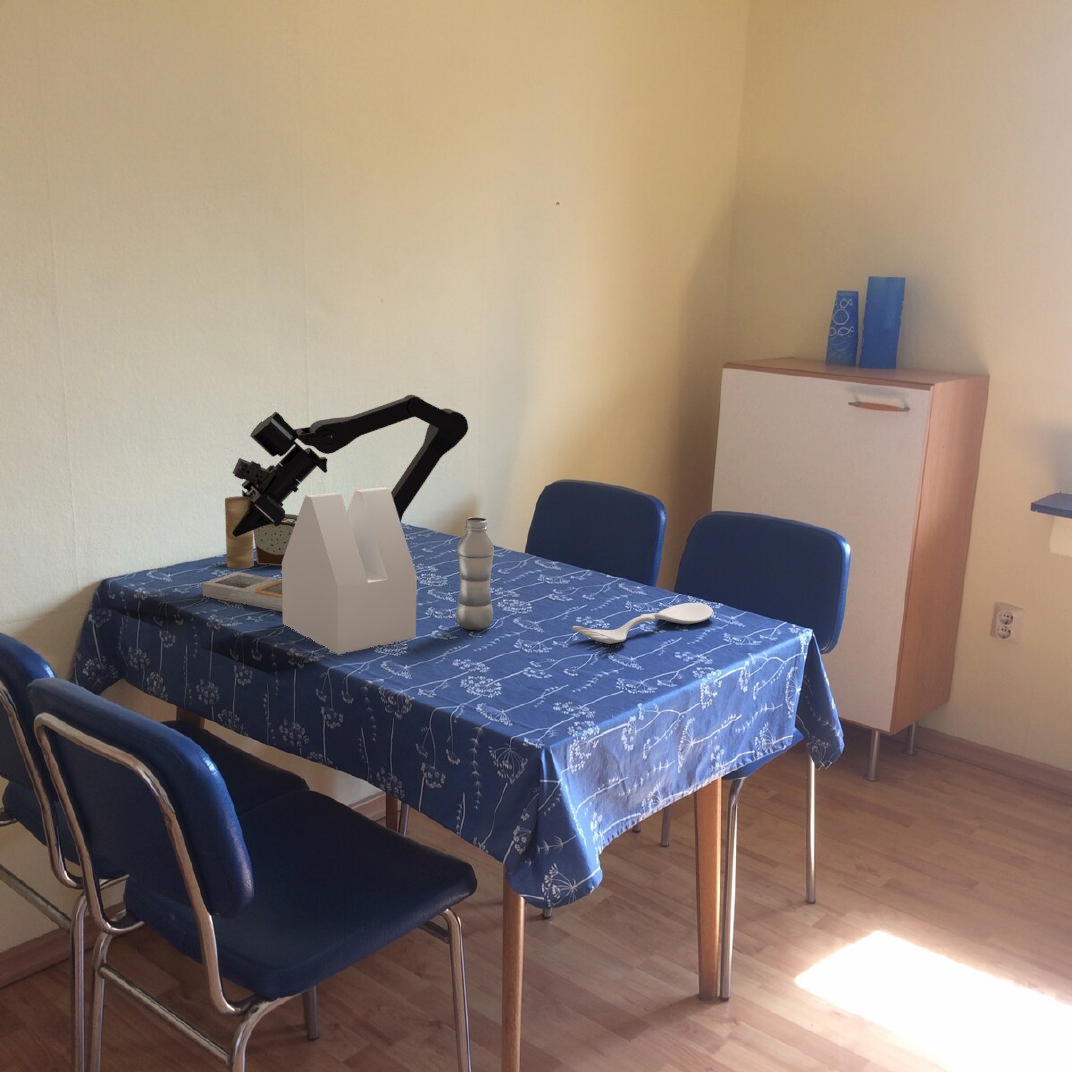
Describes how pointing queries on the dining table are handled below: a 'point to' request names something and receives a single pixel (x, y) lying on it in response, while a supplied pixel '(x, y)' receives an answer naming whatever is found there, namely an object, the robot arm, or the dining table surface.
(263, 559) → the food container
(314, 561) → the white notched block
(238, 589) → the compartment tray
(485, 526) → the plastic bottle
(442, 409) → the robot arm
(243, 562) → the wooden peg
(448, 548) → the dining table surface
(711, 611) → the spoon
